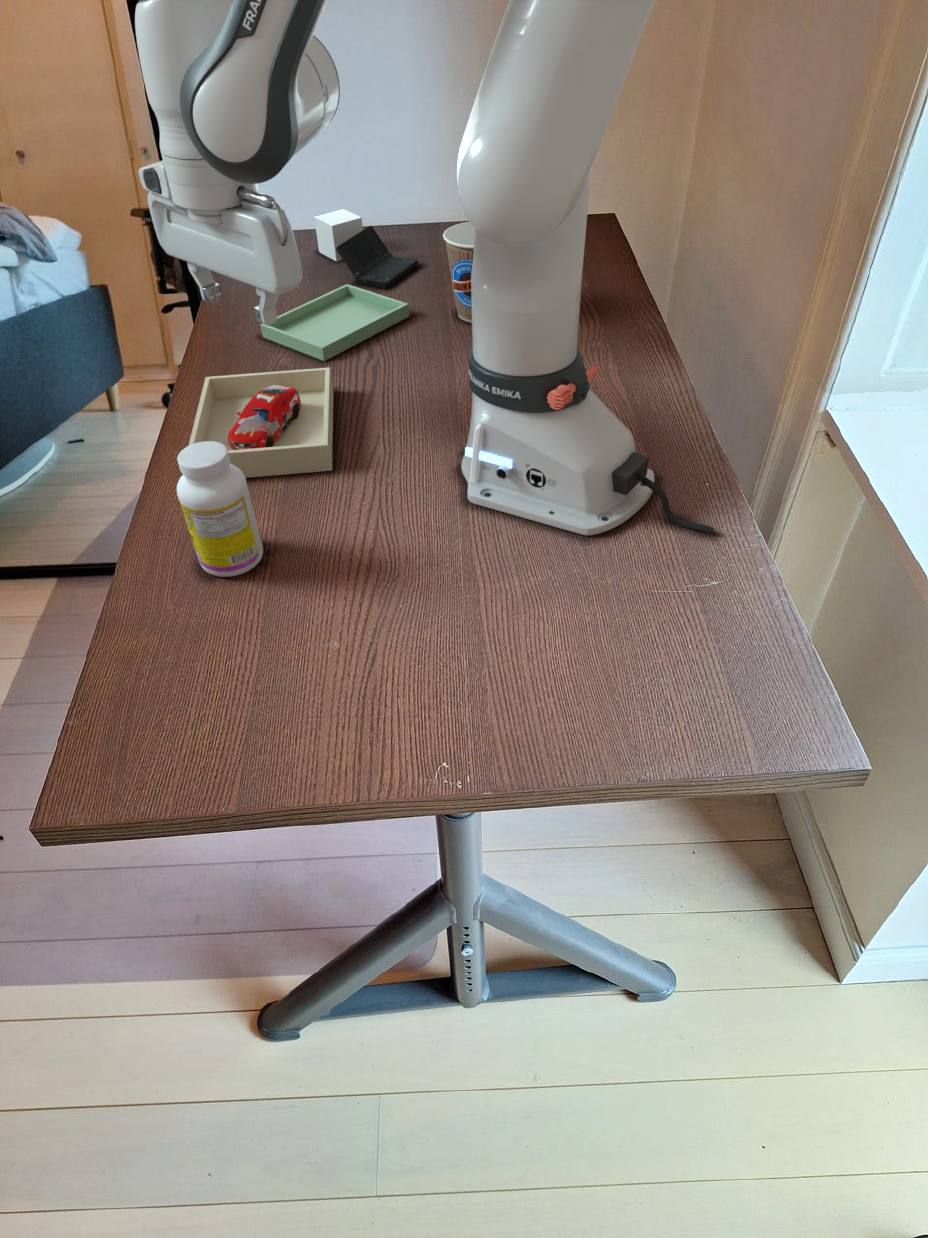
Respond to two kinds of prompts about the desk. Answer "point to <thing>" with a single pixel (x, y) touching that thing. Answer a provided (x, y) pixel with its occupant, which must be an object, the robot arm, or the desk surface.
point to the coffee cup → (461, 265)
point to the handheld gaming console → (373, 260)
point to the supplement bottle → (218, 510)
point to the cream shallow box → (300, 441)
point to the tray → (335, 321)
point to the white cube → (336, 231)
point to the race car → (265, 418)
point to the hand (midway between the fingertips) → (239, 311)
